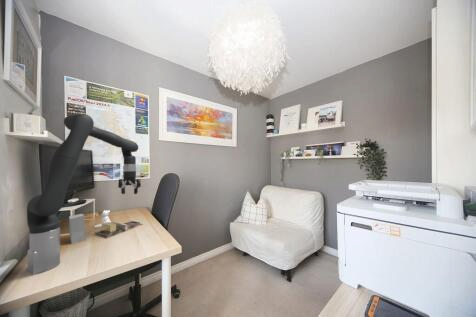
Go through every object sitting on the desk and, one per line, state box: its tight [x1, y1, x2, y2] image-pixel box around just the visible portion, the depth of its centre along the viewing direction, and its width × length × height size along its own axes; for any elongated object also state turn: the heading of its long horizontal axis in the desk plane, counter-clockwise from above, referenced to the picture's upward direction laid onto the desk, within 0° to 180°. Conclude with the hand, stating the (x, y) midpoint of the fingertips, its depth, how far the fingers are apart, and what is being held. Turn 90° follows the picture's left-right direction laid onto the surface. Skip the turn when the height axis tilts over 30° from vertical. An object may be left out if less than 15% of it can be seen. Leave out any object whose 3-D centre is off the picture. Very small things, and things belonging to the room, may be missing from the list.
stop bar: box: [101, 222, 116, 235], centre depth 111 cm, size 9×4×6 cm, turn 67°
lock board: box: [91, 220, 144, 240], centre depth 117 cm, size 25×16×5 cm, turn 157°
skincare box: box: [68, 213, 87, 245], centre depth 102 cm, size 8×7×16 cm
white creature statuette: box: [94, 209, 112, 228], centre depth 126 cm, size 10×9×12 cm
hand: (129, 193), depth 116 cm, fingers open, 8 cm apart
